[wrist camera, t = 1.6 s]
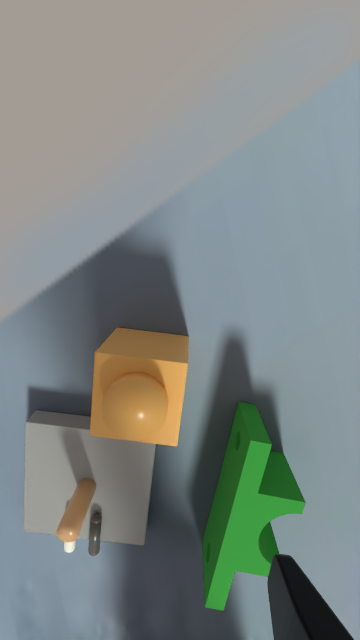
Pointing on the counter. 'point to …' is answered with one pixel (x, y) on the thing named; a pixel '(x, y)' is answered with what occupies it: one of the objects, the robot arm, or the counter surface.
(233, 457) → the pipe clamp
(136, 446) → the plate
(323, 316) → the counter surface
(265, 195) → the counter surface
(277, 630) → the robot arm
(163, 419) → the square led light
